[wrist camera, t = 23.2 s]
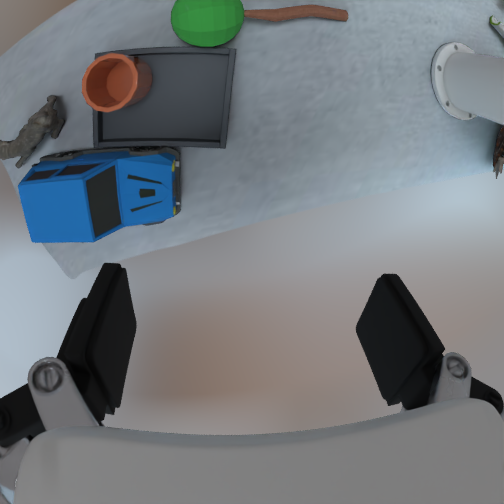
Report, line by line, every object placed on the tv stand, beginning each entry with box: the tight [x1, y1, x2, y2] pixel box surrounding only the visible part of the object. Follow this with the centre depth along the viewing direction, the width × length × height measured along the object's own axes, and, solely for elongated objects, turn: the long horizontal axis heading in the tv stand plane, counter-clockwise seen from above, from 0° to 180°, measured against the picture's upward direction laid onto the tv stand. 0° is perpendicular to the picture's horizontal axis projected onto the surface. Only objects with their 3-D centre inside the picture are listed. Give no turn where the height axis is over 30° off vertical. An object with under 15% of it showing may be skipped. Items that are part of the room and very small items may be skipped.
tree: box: [171, 0, 348, 47], centre depth 23 cm, size 8×8×20 cm
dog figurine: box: [0, 96, 64, 168], centre depth 26 cm, size 12×6×7 cm, turn 113°
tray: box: [93, 47, 236, 149], centre depth 29 cm, size 16×12×2 cm
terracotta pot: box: [82, 53, 153, 112], centre depth 25 cm, size 6×6×6 cm
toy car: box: [18, 146, 181, 243], centre depth 31 cm, size 9×19×10 cm, turn 85°
